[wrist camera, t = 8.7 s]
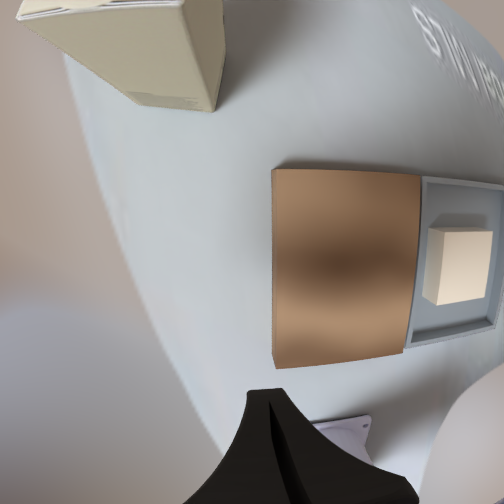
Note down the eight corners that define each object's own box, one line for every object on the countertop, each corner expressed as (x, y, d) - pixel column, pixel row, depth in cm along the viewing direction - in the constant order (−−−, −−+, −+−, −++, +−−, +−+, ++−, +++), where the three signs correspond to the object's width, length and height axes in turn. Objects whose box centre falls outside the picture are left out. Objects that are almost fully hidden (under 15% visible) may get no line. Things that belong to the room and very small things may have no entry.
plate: (390, 340, 22) (402, 353, 20) (271, 353, 21) (275, 369, 19) (404, 174, 19) (420, 175, 17) (271, 170, 19) (276, 169, 17)
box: (227, 51, 17) (233, -99, 4) (214, 116, 18) (193, 6, 5) (145, 44, 16) (66, -84, 4) (129, 107, 17) (6, 22, 5)
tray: (485, 322, 23) (495, 328, 21) (396, 339, 22) (405, 348, 21) (502, 185, 20) (514, 187, 19) (410, 175, 19) (422, 175, 18)
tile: (469, 289, 21) (484, 297, 20) (421, 296, 21) (436, 305, 19) (476, 227, 20) (492, 231, 18) (428, 227, 20) (444, 232, 18)
